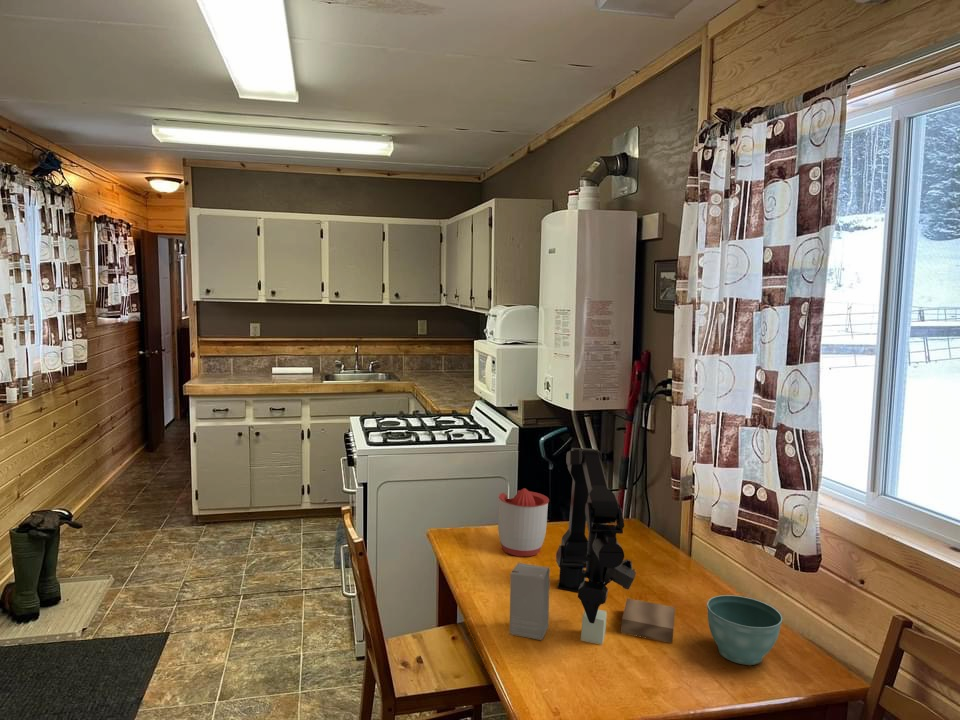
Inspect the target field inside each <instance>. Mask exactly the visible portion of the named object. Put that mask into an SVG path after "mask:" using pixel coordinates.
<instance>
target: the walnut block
mask: <svg viewBox="0 0 960 720" xmlns="http://www.w3.org/2000/svg"><path fill="white" fill-rule="evenodd" d="M675 615H676V607H675V606H671V605H664V604H658V603H654V602H648V601H644V600H639V599H633V598H626V601H625V605H624V609H623V614H622V617H621V627H620V628H621V629H620V634H623V633H625V634H624V635H628V634H631V635H630V636H633V635H637V636H636V637H638V636H641V637H640V638H643V637H646V638H645V639H648V638H651V639H650V640H653V639H655V640H654V641H657V640H659V641H658V642H662V641H663V643H667V642H668V644H673V639H674V631H675V619H676V618H675Z"/></svg>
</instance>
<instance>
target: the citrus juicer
mask: <svg viewBox="0 0 960 720" xmlns="http://www.w3.org/2000/svg"><path fill="white" fill-rule="evenodd" d="M498 499H499V504H498V505H499V506H498V518H497V519H498V520H497V521H498V522H497V529H498V537H499V543H500V546H501V550H503V552H505V553H506V554H509V555H512V556H515V557H518V558H519V557H532V556H535V555H538V554H539V553H540V551H541V550H542V547H543V543H544V541H545V537H546V534H547V533H546V531H547V525H548V523H547V522H548V509H549V508H548V507H549V502H550V499H549V497H548V496H546V495H544V494H542V493H539V492H534V491H530V490H529V489H527V488H525V487H524V488H522V489H520V490H517V493H516V494H515V495H514V497H512V498H508V495H507V493H504V492H502V493H500V494H499V496H498Z"/></svg>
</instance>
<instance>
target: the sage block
mask: <svg viewBox="0 0 960 720" xmlns="http://www.w3.org/2000/svg"><path fill="white" fill-rule="evenodd" d="M607 613H608V612H607V610H602V609H598V611H597V615H596V619H595V622H594V623H590V622H589V620H588V617H587V615H586V612H585V610H584V611H583V613H582V620H581V634H580V641H581V642H587V643H591V644H597V645H601V646H603V644H604V640H605V637H604V636H606V627H607Z"/></svg>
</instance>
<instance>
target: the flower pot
mask: <svg viewBox="0 0 960 720" xmlns="http://www.w3.org/2000/svg"><path fill="white" fill-rule="evenodd" d="M706 608H707V621H708V627H709V631H710V633H711V636H712V638H713V640H714V642H715V644H716V646H717V648H718V649H717V650H718V653H719V654H720V656H722V657H723V658H724V659H726V660H727V661H730V662H733V663H736V664H740V665H744V666H752V665H758V664H760V663H762V661H763V658H764V657H765V656H766V655H767V654H768V653H769V652H770V651H771V650H772V648H774V646H775V644H776V642H777V640H778V637H779V634H780V630H781V626H782V623H783V616H782V614H781V613H780V612H779V611H778V610H777V608H775V607H773V606H772V605H770V604H769V603H766V602H763V601H760V600H758V599H755V598H750V597H745V596H740V595H735V594H733V595H729V594H728V595H727V594H726V595H725V594H723V595H716V596H713V597H711V598H709V600H708V601H707V603H706Z"/></svg>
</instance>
